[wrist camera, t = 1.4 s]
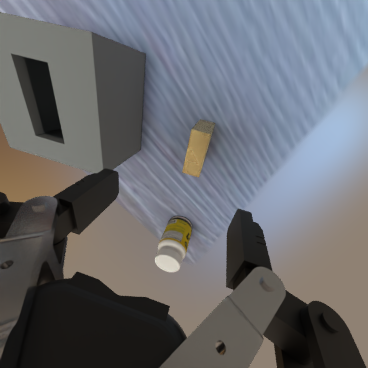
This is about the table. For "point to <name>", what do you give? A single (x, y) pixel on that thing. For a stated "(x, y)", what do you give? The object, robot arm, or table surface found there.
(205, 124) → the yellow wooden block
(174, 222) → the supplement bottle
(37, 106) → the coin box
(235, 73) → the table surface
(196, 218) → the table surface
